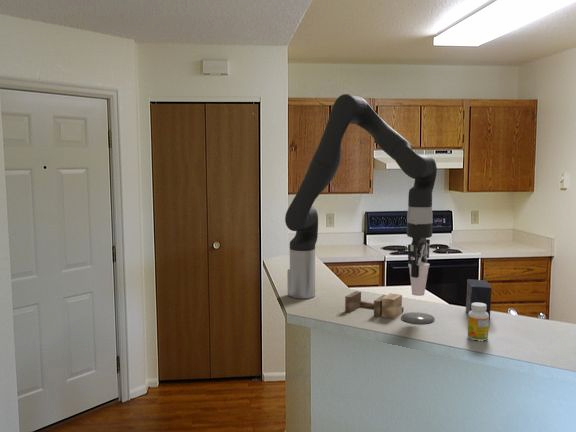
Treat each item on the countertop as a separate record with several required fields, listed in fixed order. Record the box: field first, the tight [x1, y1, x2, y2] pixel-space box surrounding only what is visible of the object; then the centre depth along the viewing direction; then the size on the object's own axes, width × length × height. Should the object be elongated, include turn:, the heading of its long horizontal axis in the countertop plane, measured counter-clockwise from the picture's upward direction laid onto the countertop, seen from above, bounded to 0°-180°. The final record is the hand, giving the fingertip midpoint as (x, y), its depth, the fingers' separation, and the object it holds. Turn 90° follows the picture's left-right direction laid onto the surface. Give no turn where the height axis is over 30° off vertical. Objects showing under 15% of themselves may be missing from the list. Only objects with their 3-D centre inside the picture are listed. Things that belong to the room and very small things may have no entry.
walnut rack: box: [344, 290, 405, 319], centre depth 175 cm, size 16×9×6 cm, turn 58°
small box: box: [465, 278, 492, 321], centre depth 171 cm, size 11×6×10 cm, turn 168°
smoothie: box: [407, 259, 430, 297], centre depth 166 cm, size 6×6×14 cm
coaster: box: [401, 311, 435, 325], centre depth 168 cm, size 10×10×1 cm
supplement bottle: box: [467, 302, 490, 341], centre depth 149 cm, size 5×5×10 cm
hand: (418, 274), depth 166 cm, fingers closed on smoothie, 6 cm apart
